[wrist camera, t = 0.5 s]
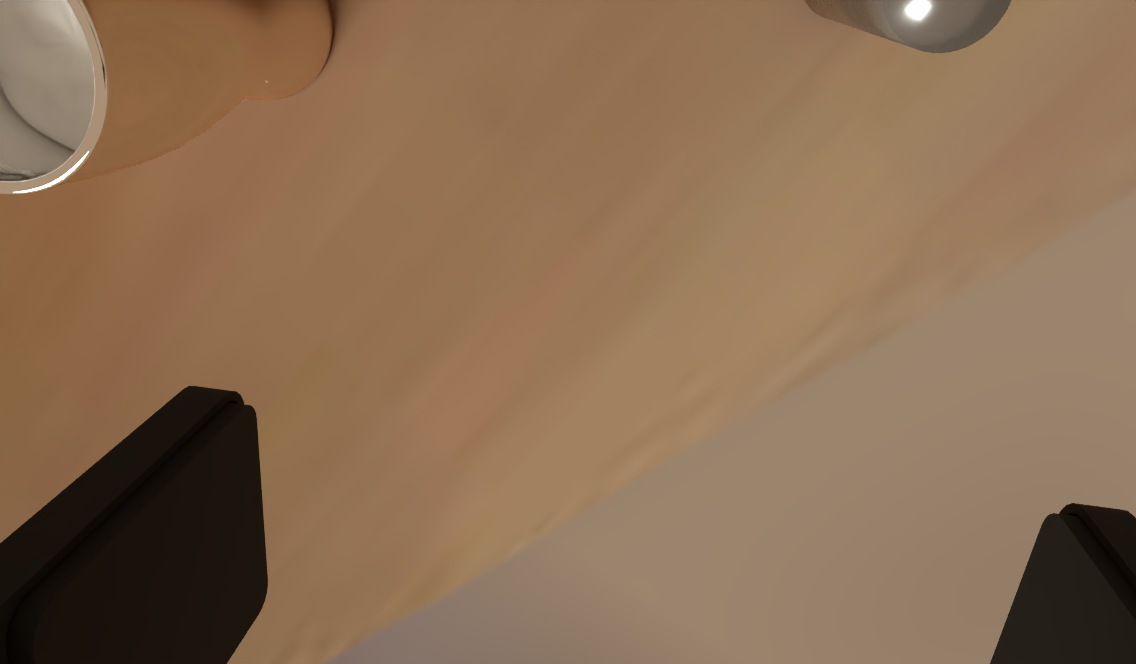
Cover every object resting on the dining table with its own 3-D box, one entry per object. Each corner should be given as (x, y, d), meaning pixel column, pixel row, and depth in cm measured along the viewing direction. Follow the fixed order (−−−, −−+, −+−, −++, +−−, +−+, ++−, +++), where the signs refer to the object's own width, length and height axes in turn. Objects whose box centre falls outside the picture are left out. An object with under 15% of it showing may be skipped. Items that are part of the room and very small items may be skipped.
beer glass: (146, 36, 34) (-207, 84, 20) (222, -120, 31) (-124, -186, 18) (291, 144, 35) (49, 258, 22) (377, 2, 33) (163, 28, 19)
